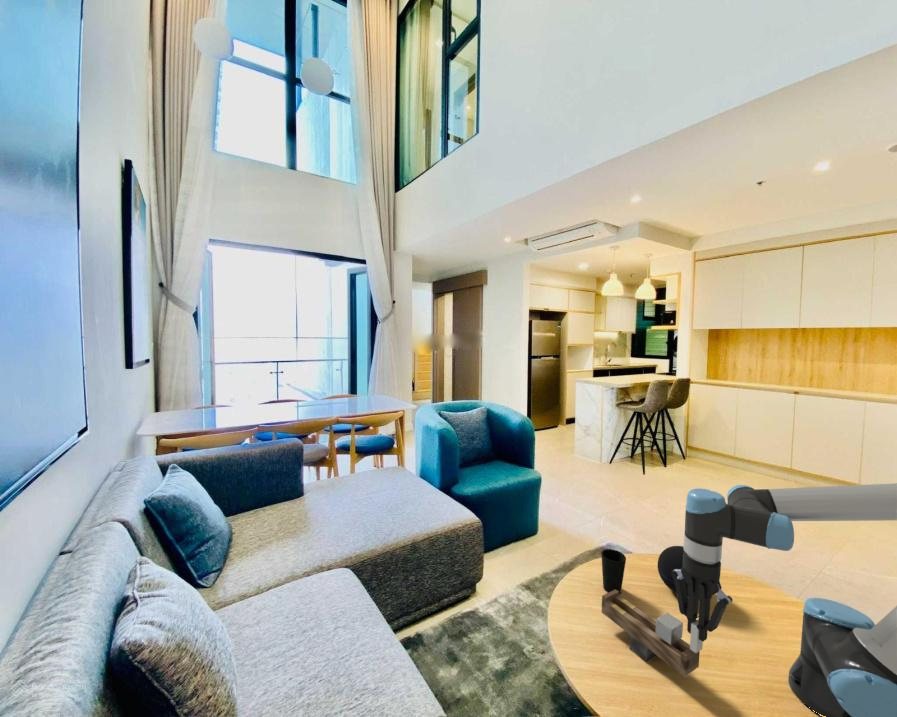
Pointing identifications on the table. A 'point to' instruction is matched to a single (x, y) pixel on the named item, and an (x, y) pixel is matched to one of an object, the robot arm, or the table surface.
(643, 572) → the table surface
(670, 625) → the block
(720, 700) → the table surface
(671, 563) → the decorative sphere
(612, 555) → the cup
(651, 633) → the beam
